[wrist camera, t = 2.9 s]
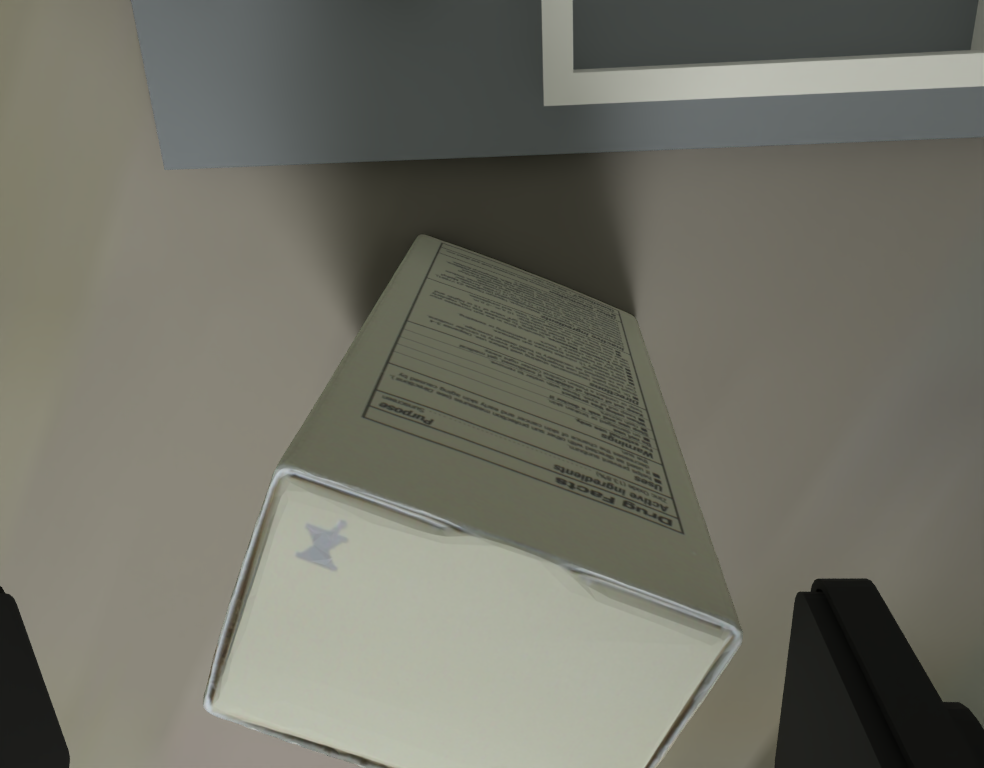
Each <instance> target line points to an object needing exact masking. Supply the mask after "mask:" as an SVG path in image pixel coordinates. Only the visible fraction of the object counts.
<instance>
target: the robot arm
mask: <svg viewBox="0 0 984 768" xmlns="http://www.w3.org/2000/svg"><path fill="white" fill-rule="evenodd" d="M69 764H70V756H69V751H68V748H67V745H66V742H65V739H64V736H63V734H62V731H61V728H60V725H59V722H58V720H57V717H56V714H55V711H54V708H53V705H52V703H51V700H50V697H49V694H48V691H47V688H46V686H45V683H44V680H43V677H42V674H41V671H40V669H39V666H38V663H37V660H36V657H35V655H34V652H33V649H32V646H31V643H30V640H29V638H28V635H27V632H26V629H25V626H24V623H23V621H22V618H21V615H20V612H19V609H18V607H17V604H16V602H15V600H14V598H13V597H12V596H11V595H9V594H6V593H5V592H4V590H3V588H2V587H1V586H0V768H69ZM775 768H984V729H983V728H982V726H981V724H980V723H979V721H978V720H977V719H976V717H975V716H974V715H973V714H972V712H971V711H970V710H969V709H968V708H967V707H965V706H964V705H963V704H961V703H960V702H943V701H942V700H941V698H940V696H939V695H938V693H937V691H936V689H935V688H934V686H933V684H932V683H931V681H930V679H929V677H928V676H927V674H926V672H925V671H924V669H923V667H922V665H921V664H920V662H919V660H918V659H917V657H916V655H915V653H914V652H913V650H912V648H911V647H910V645H909V643H908V641H907V640H906V638H905V636H904V635H903V633H902V631H901V629H900V628H899V626H898V624H897V622H896V621H895V619H894V617H893V616H892V614H891V612H890V610H889V609H888V607H887V605H886V604H885V602H884V600H883V598H882V597H881V595H880V593H879V592H878V590H877V588H876V587H875V585H874V584H873V583H872V581H870V580H868V579H816V580H815V581H814V583H813V584H812V588H811V592H799V593H797V595H796V598H795V603H794V611H793V619H792V627H791V635H790V643H789V651H788V660H787V668H786V676H785V684H784V692H783V700H782V708H781V716H780V724H779V732H778V741H777V749H776V757H775Z"/></svg>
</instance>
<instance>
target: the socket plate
mask: <svg viewBox="0 0 984 768" xmlns="http://www.w3.org/2000/svg"><path fill="white" fill-rule="evenodd" d="M131 3H132V8H133V13H134V18H135V23H136V28H137V33H138V38H139V43H140V48H141V53H142V58H143V63H144V68H145V73H146V79H147V84H148V89H149V94H150V99H151V104H152V109H153V114H154V119H155V124H156V129H157V134H158V139H159V144H160V149H161V154H162V159H163V164H164V169H165V170H173V169H198V168H223V167H248V166H273V165H298V164H323V163H348V162H373V161H398V160H423V159H448V158H473V157H498V156H523V155H548V154H573V153H598V152H623V151H648V150H673V149H698V148H723V147H748V146H773V145H798V144H823V143H848V142H873V141H898V140H923V139H948V138H973V137H984V0H131Z"/></svg>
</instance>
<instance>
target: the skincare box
mask: <svg viewBox="0 0 984 768" xmlns="http://www.w3.org/2000/svg"><path fill="white" fill-rule="evenodd" d="M742 639H743V631H742V629H741V626H740V623H739V620H738V617H737V614H736V611H735V608H734V605H733V602H732V599H731V596H730V593H729V591H728V588H727V585H726V582H725V579H724V576H723V573H722V570H721V567H720V564H719V561H718V558H717V555H716V553H715V551H714V548H713V545H712V542H711V539H710V536H709V532H708V529H707V526H706V523H705V520H704V517H703V514H702V511H701V509H700V506H699V503H698V500H697V497H696V494H695V491H694V488H693V485H692V482H691V479H690V476H689V473H688V470H687V467H686V464H685V461H684V458H683V455H682V452H681V450H680V447H679V444H678V441H677V438H676V435H675V432H674V429H673V425H672V422H671V419H670V417H669V414H668V411H667V408H666V405H665V402H664V400H663V397H662V394H661V391H660V388H659V384H658V381H657V379H656V376H655V373H654V369H653V366H652V364H651V361H650V358H649V355H648V352H647V349H646V347H645V343H644V340H643V338H642V335H641V331H640V328H639V325H638V322H637V320H636V318H635V317H634V316H632V315H631V314H629V313H627V312H624V311H622V310H619V309H617V308H615V307H612V306H610V305H608V304H606V303H603V302H601V301H599V300H596V299H594V298H591V297H589V296H587V295H584V294H582V293H579V292H577V291H575V290H572V289H570V288H567V287H565V286H562V285H560V284H557V283H555V282H552V281H550V280H547V279H545V278H542V277H539V276H537V275H534V274H532V273H529V272H526V271H524V270H521V269H519V268H516V267H514V266H511V265H508V264H506V263H503V262H500V261H498V260H495V259H492V258H490V257H487V256H484V255H481V254H479V253H476V252H473V251H470V250H468V249H465V248H462V247H459V246H456V245H453V244H451V243H448V242H445V241H441V240H439V239H436V238H433V237H431V236H428V235H424V234H421V235H419V236H418V237H417V238H416V239H415V241H414V243H413V244H412V246H411V248H410V249H409V251H408V252H407V254H406V256H405V257H404V259H403V261H402V262H401V264H400V265H399V267H398V269H397V270H396V272H395V274H394V275H393V277H392V278H391V280H390V282H389V283H388V285H387V287H386V288H385V290H384V291H383V293H382V295H381V296H380V298H379V300H378V301H377V303H376V305H375V306H374V308H373V310H372V311H371V313H370V314H369V316H368V318H367V319H366V321H365V323H364V324H363V326H362V328H361V329H360V331H359V333H358V334H357V336H356V338H355V339H354V341H353V343H352V344H351V346H350V348H349V349H348V351H347V353H346V354H345V356H344V358H343V359H342V361H341V362H340V364H339V366H338V367H337V369H336V371H335V372H334V374H333V376H332V377H331V379H330V381H329V382H328V384H327V386H326V387H325V389H324V391H323V392H322V394H321V395H320V397H319V399H318V400H317V402H316V404H315V405H314V407H313V409H312V410H311V412H310V413H309V415H308V417H307V418H306V420H305V422H304V423H303V425H302V426H301V428H300V430H299V431H298V433H297V434H296V436H295V437H294V439H293V440H292V442H291V444H290V445H289V447H288V449H287V450H286V452H285V453H284V455H283V457H282V458H281V460H280V462H279V463H278V465H277V467H276V469H275V471H274V473H273V476H272V479H271V482H270V485H269V488H268V491H267V494H266V497H265V500H264V502H263V505H262V508H261V511H260V514H259V516H258V519H257V522H256V525H255V528H254V530H253V533H252V536H251V539H250V542H249V545H248V548H247V551H246V554H245V557H244V560H243V563H242V566H241V569H240V572H239V575H238V578H237V582H236V584H235V587H234V590H233V593H232V596H231V600H230V603H229V606H228V610H227V613H226V616H225V620H224V623H223V626H222V630H221V633H220V637H219V640H218V643H217V647H216V650H215V654H214V658H213V662H212V666H211V671H210V675H209V679H208V683H207V687H206V690H205V693H204V699H203V707H204V708H205V709H206V711H207V712H208V713H210V714H212V715H214V716H216V717H219V718H222V719H225V720H229V721H232V722H235V723H237V724H240V725H243V726H245V727H247V728H249V729H252V730H256V731H259V732H262V733H264V734H267V735H270V736H273V737H276V738H279V739H281V740H284V741H286V742H288V743H293V744H297V745H299V746H301V747H304V748H307V749H310V750H313V751H316V752H319V753H323V754H325V755H327V756H330V757H333V758H337V759H341V760H344V761H347V762H350V763H352V764H355V765H358V766H361V767H364V768H656V767H657V766H658V764H659V763H660V762H661V761H662V759H663V758H664V757H665V755H666V753H667V752H668V750H669V749H670V748H671V746H672V745H673V743H674V742H675V740H676V738H677V737H678V735H679V734H680V733H681V731H682V730H683V728H684V727H685V726H686V724H687V723H688V721H689V720H690V719H691V717H692V716H693V715H694V713H695V712H696V710H697V709H698V708H699V706H700V705H701V704H702V702H703V701H704V699H705V698H706V696H707V695H708V693H709V692H710V690H711V689H712V687H713V686H714V684H715V683H716V681H717V680H718V678H719V677H720V675H721V674H722V672H723V671H724V669H725V668H726V666H727V665H728V664H729V662H730V661H731V659H732V658H733V656H734V655H735V653H736V652H737V650H738V649H739V647H740V645H741V644H742Z"/></svg>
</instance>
